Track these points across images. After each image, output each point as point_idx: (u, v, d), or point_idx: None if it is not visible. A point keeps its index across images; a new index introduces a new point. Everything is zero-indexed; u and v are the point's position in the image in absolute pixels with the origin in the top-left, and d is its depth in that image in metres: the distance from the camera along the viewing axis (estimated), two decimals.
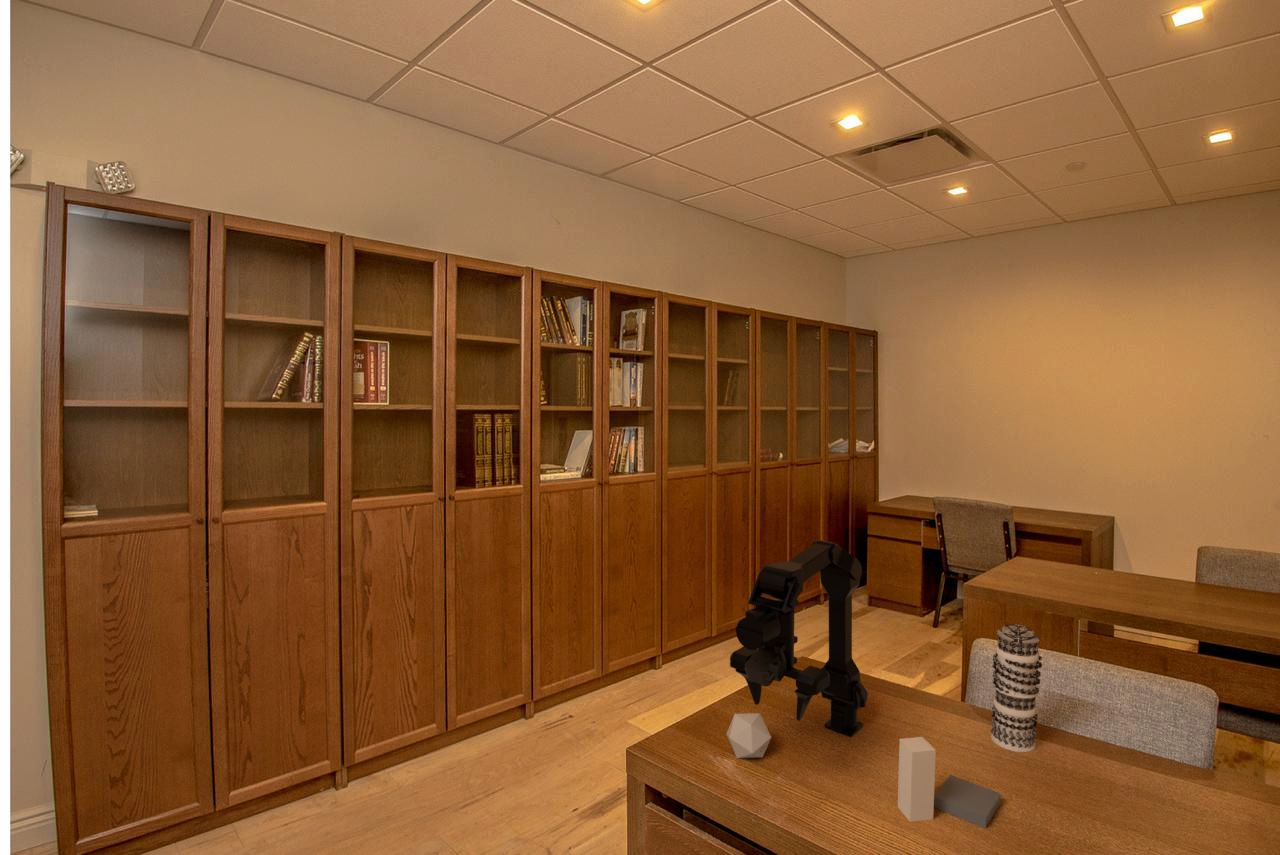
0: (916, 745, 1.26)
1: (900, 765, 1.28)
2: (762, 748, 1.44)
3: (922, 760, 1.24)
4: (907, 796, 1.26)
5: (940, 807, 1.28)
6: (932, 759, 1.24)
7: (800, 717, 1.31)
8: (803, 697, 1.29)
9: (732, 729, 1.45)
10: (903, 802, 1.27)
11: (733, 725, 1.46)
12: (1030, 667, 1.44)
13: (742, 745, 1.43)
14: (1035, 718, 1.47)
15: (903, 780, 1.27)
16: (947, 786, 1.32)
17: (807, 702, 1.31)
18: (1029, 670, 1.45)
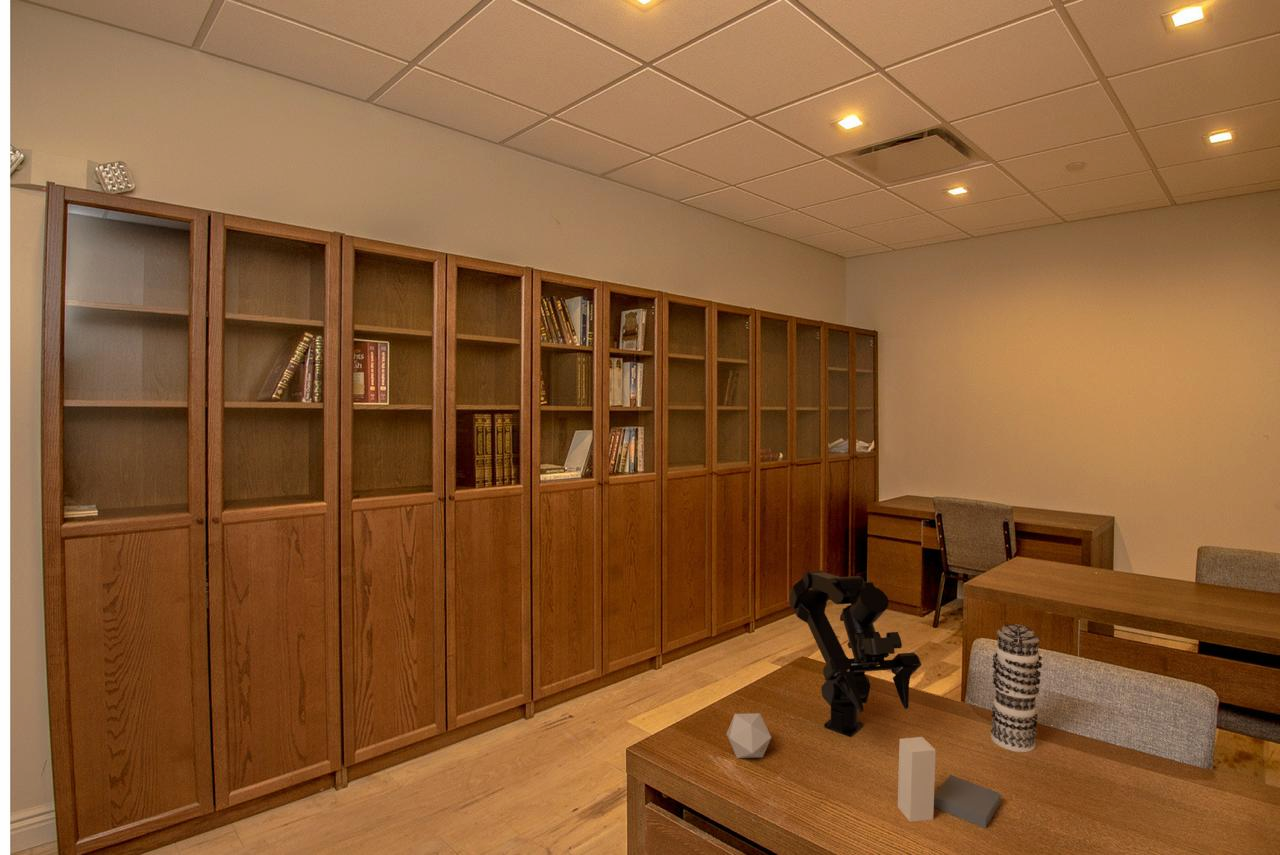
0: (916, 745, 1.26)
1: (900, 765, 1.28)
2: (762, 748, 1.44)
3: (922, 760, 1.24)
4: (906, 796, 1.26)
5: (940, 807, 1.28)
6: (932, 759, 1.24)
7: None
8: (909, 675, 1.41)
9: (732, 729, 1.45)
10: (903, 802, 1.27)
11: (733, 725, 1.46)
12: (1030, 667, 1.44)
13: (742, 745, 1.43)
14: (1035, 718, 1.47)
15: (903, 780, 1.27)
16: (947, 786, 1.32)
17: None
18: (1029, 670, 1.45)
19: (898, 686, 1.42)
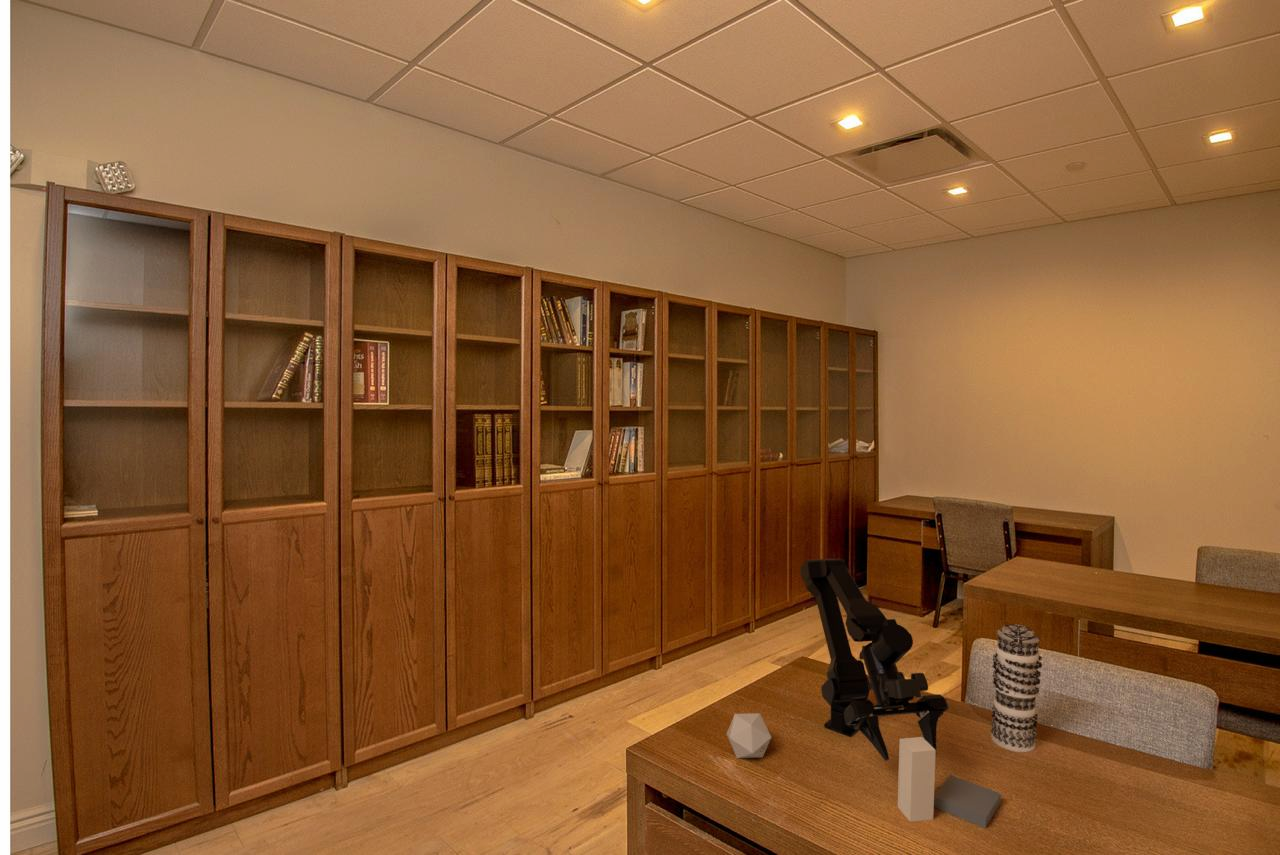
0: (916, 745, 1.26)
1: (900, 765, 1.28)
2: (762, 748, 1.44)
3: (922, 760, 1.24)
4: (906, 796, 1.26)
5: (940, 807, 1.28)
6: (932, 759, 1.24)
7: None
8: (936, 719, 1.32)
9: (732, 729, 1.45)
10: (903, 802, 1.27)
11: (733, 725, 1.46)
12: (1030, 667, 1.44)
13: (742, 745, 1.43)
14: (1035, 718, 1.47)
15: (903, 780, 1.27)
16: (947, 786, 1.32)
17: None
18: (1029, 670, 1.45)
19: (924, 731, 1.33)
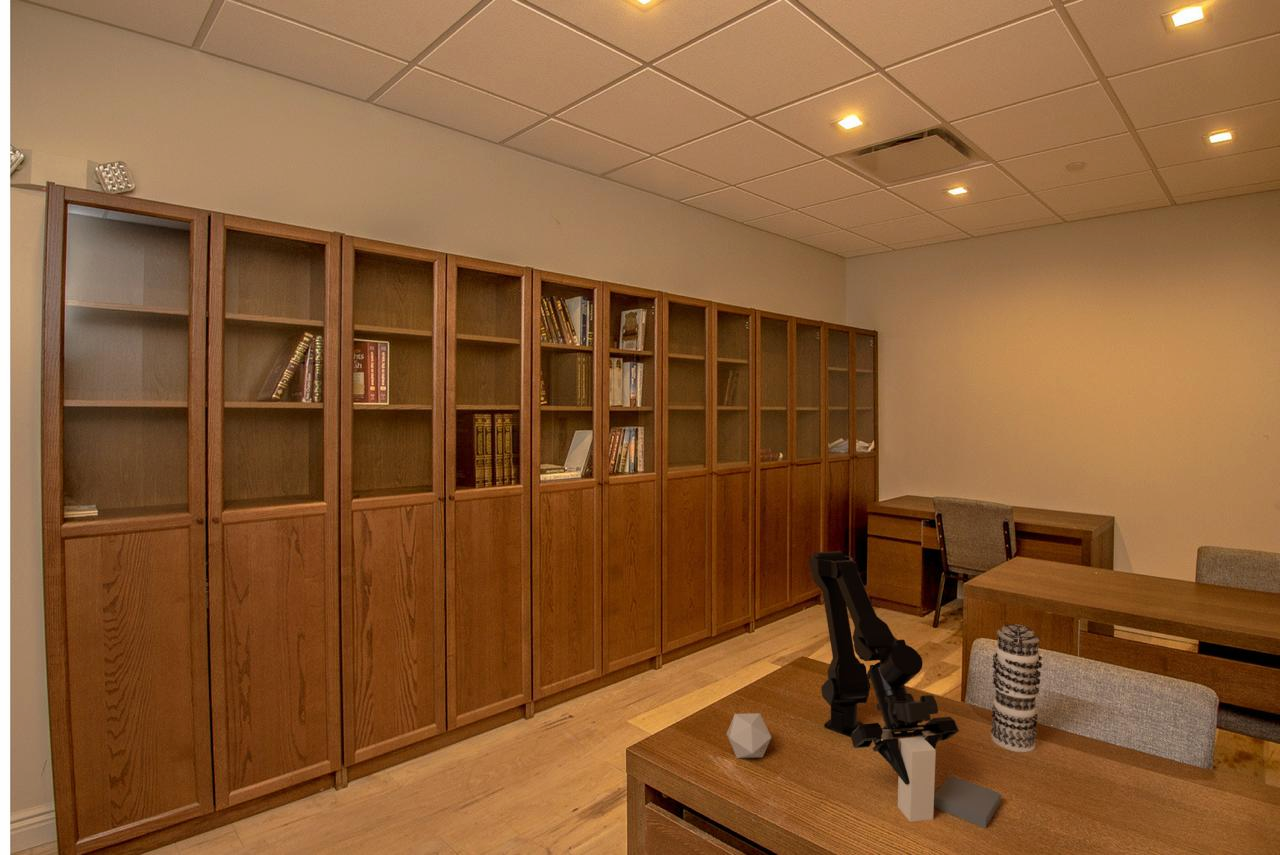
0: (916, 745, 1.26)
1: None
2: (762, 748, 1.44)
3: (922, 760, 1.24)
4: (906, 796, 1.26)
5: (940, 807, 1.28)
6: (932, 759, 1.24)
7: None
8: (935, 743, 1.28)
9: (732, 729, 1.45)
10: (903, 802, 1.27)
11: (733, 725, 1.46)
12: (1030, 667, 1.44)
13: (742, 745, 1.43)
14: (1035, 718, 1.47)
15: None
16: (947, 786, 1.32)
17: None
18: (1029, 670, 1.45)
19: None
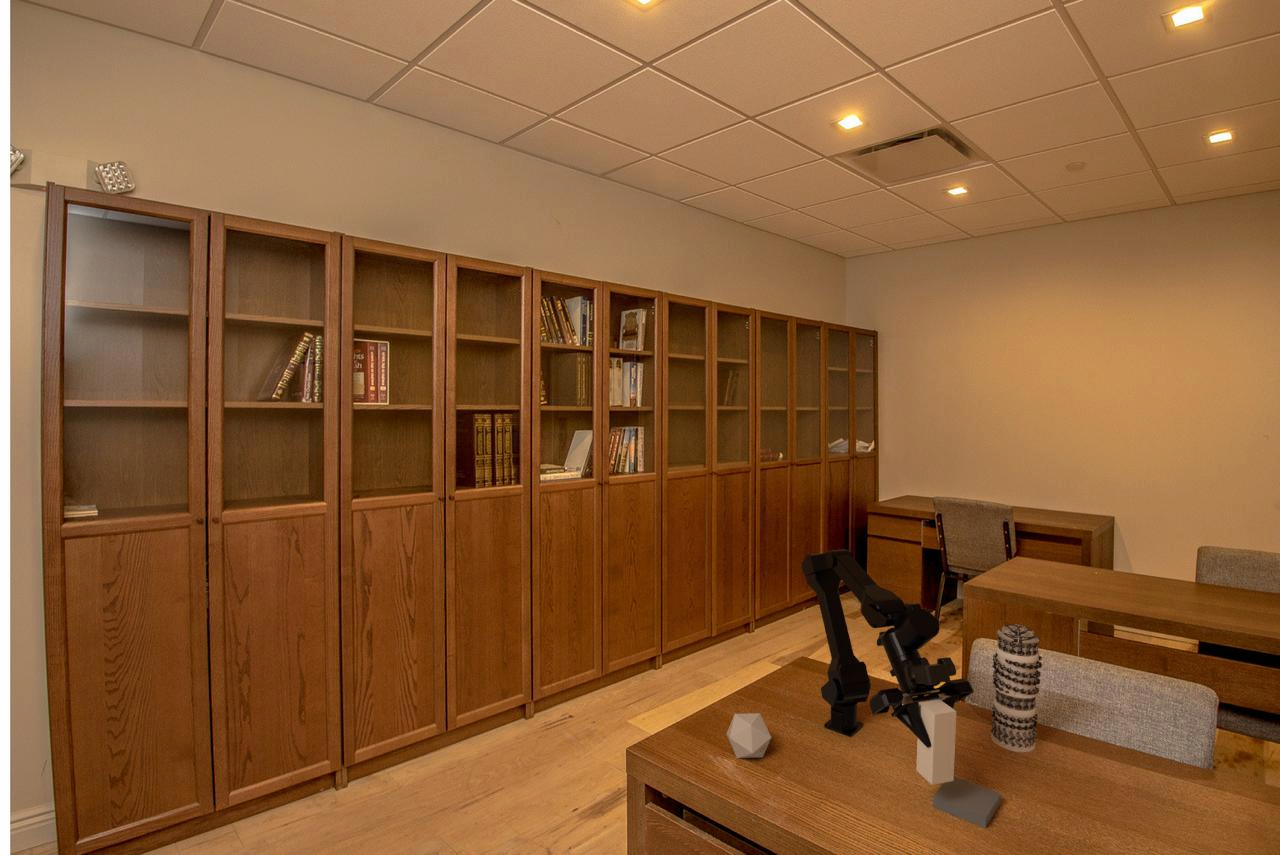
0: (937, 708, 1.25)
1: None
2: (762, 748, 1.44)
3: (944, 722, 1.24)
4: (928, 759, 1.25)
5: (940, 807, 1.28)
6: (952, 721, 1.24)
7: None
8: (952, 705, 1.28)
9: (732, 729, 1.45)
10: (923, 766, 1.27)
11: (733, 725, 1.46)
12: (1030, 667, 1.44)
13: (742, 745, 1.43)
14: (1035, 718, 1.47)
15: None
16: (947, 786, 1.32)
17: None
18: (1029, 670, 1.45)
19: None
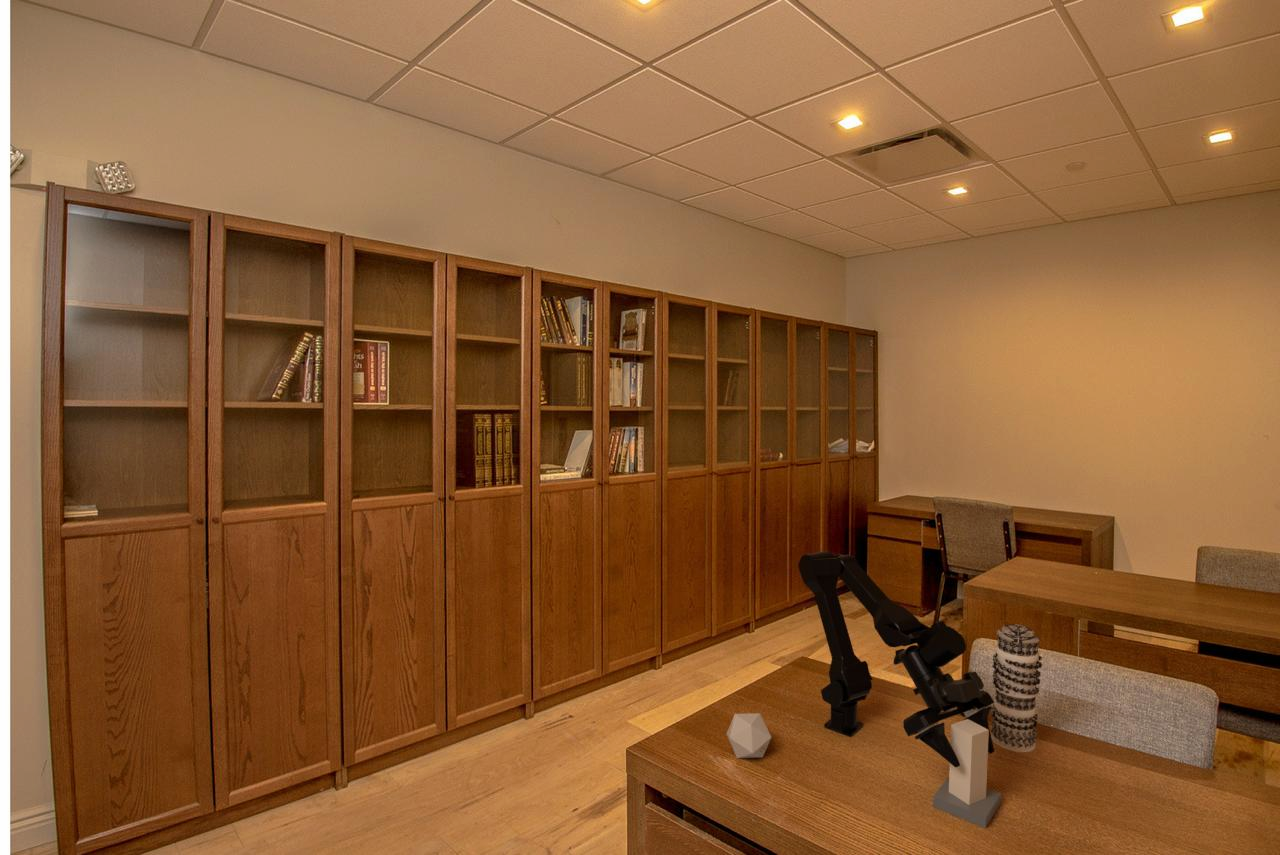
0: (970, 728, 1.28)
1: None
2: (762, 748, 1.44)
3: (979, 742, 1.26)
4: (963, 780, 1.27)
5: (940, 807, 1.28)
6: (986, 740, 1.27)
7: None
8: (987, 716, 1.32)
9: (732, 729, 1.45)
10: (958, 787, 1.28)
11: (733, 725, 1.46)
12: (1030, 667, 1.44)
13: (742, 745, 1.43)
14: (1035, 718, 1.47)
15: None
16: (947, 786, 1.32)
17: None
18: (1029, 670, 1.45)
19: None
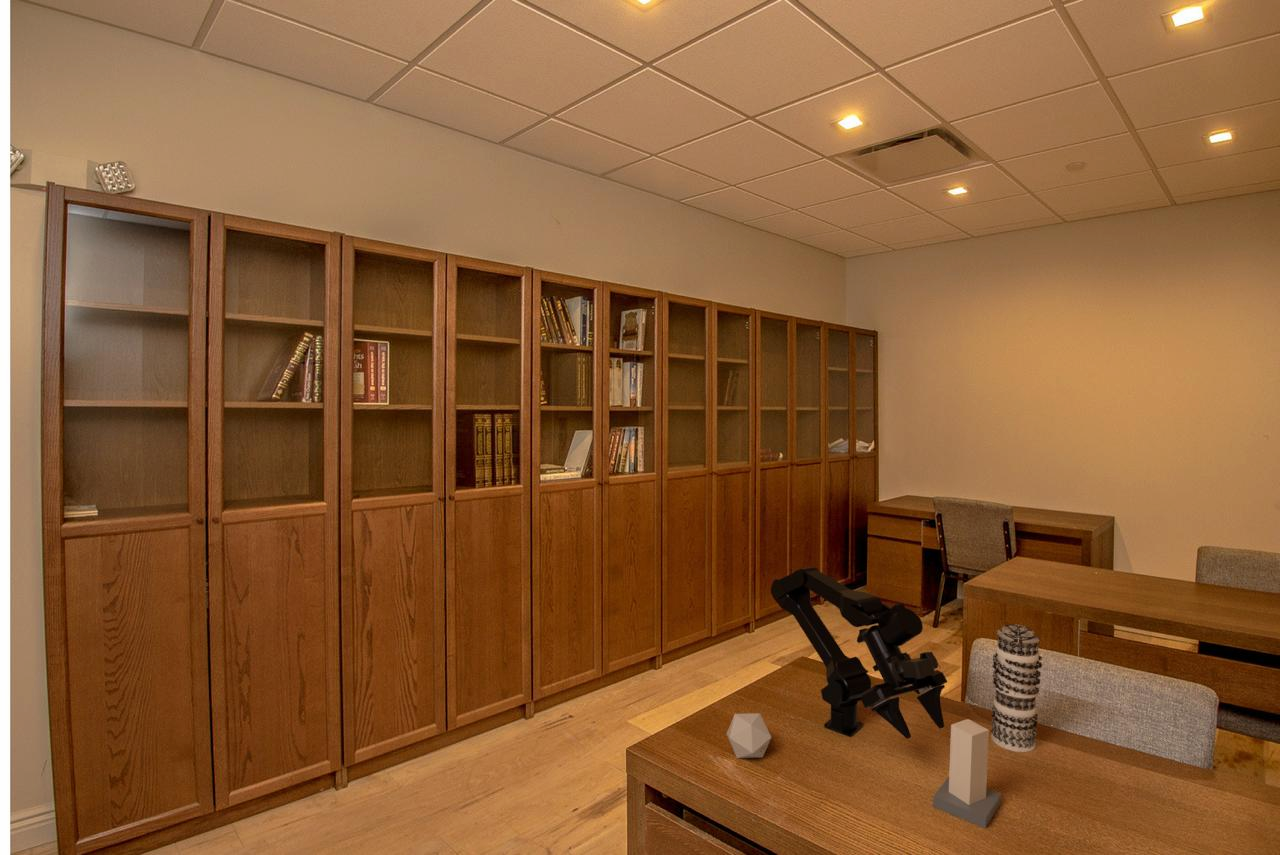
0: (970, 728, 1.28)
1: (952, 750, 1.29)
2: (762, 748, 1.44)
3: (979, 742, 1.26)
4: (963, 780, 1.27)
5: (940, 807, 1.28)
6: (986, 740, 1.27)
7: None
8: (939, 693, 1.41)
9: (732, 729, 1.45)
10: (958, 787, 1.28)
11: (733, 725, 1.46)
12: (1030, 667, 1.44)
13: (742, 745, 1.43)
14: (1035, 718, 1.47)
15: (958, 765, 1.28)
16: (947, 786, 1.32)
17: None
18: (1029, 670, 1.45)
19: (927, 706, 1.41)
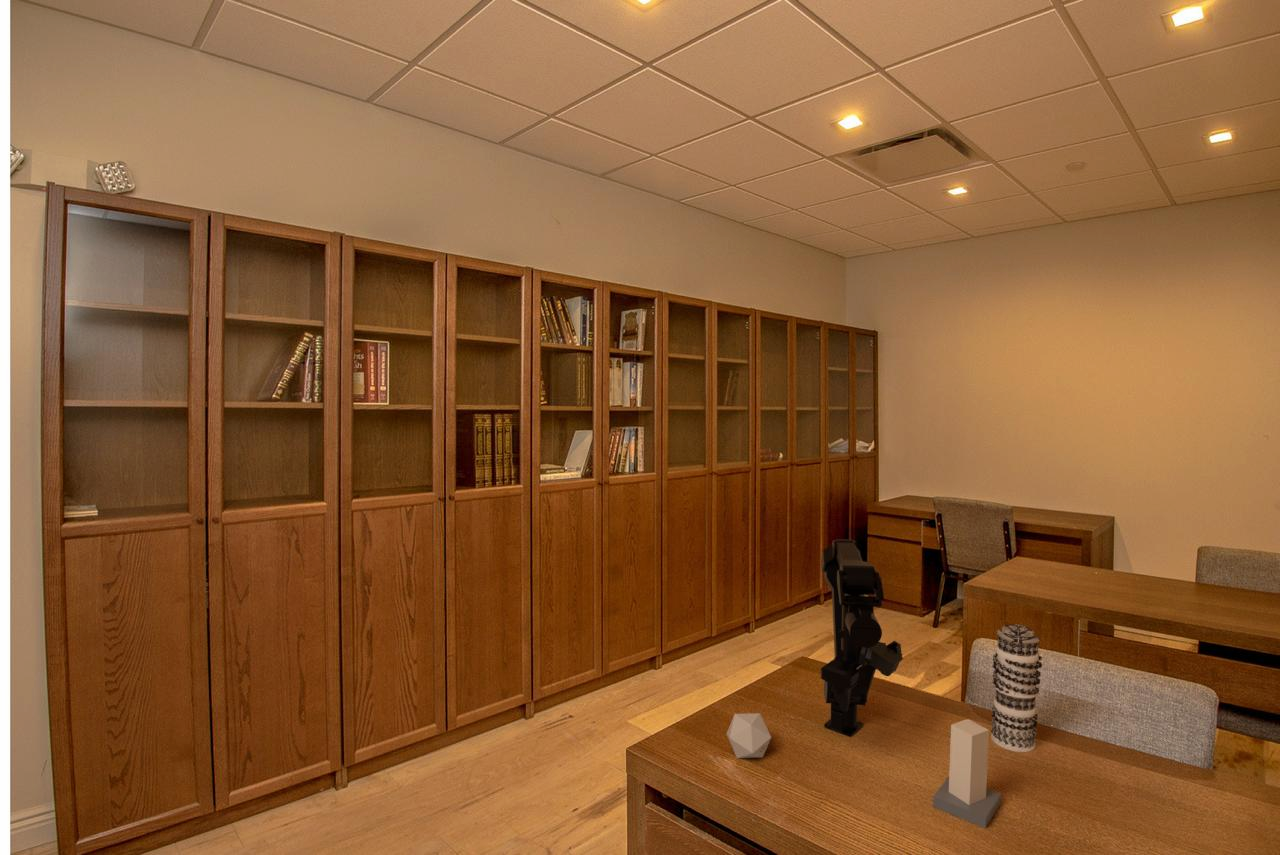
0: (970, 728, 1.28)
1: (952, 750, 1.29)
2: (762, 748, 1.44)
3: (979, 742, 1.26)
4: (963, 780, 1.27)
5: (940, 807, 1.28)
6: (986, 740, 1.27)
7: None
8: None
9: (732, 729, 1.45)
10: (958, 787, 1.28)
11: (733, 725, 1.46)
12: (1030, 667, 1.44)
13: (742, 745, 1.43)
14: (1035, 718, 1.47)
15: (958, 765, 1.28)
16: (947, 786, 1.32)
17: None
18: (1029, 670, 1.45)
19: (861, 671, 1.46)
